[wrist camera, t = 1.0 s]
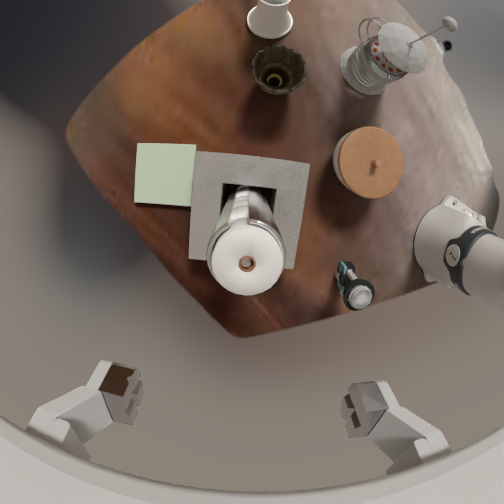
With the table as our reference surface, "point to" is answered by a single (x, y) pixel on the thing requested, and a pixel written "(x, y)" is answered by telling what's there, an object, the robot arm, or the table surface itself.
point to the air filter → (246, 244)
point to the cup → (278, 69)
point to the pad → (164, 173)
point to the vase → (270, 19)
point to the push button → (353, 288)
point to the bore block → (252, 174)
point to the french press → (386, 56)
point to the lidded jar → (368, 162)
